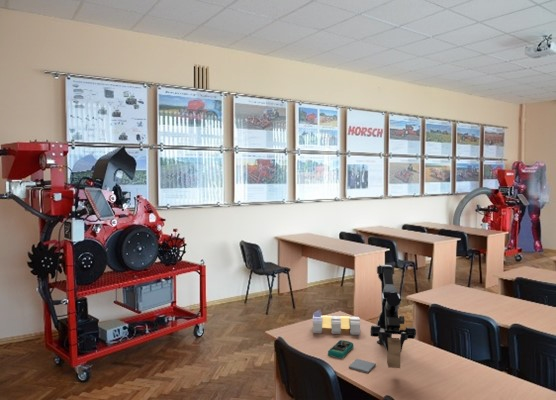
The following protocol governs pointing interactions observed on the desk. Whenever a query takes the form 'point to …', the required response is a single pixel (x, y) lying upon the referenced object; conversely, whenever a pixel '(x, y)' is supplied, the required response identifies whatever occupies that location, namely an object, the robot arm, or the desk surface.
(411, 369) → the desk surface
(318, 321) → the grey yellow long block
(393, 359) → the walnut block
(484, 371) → the desk surface
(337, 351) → the digital multimeter
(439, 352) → the desk surface
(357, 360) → the grey pad
